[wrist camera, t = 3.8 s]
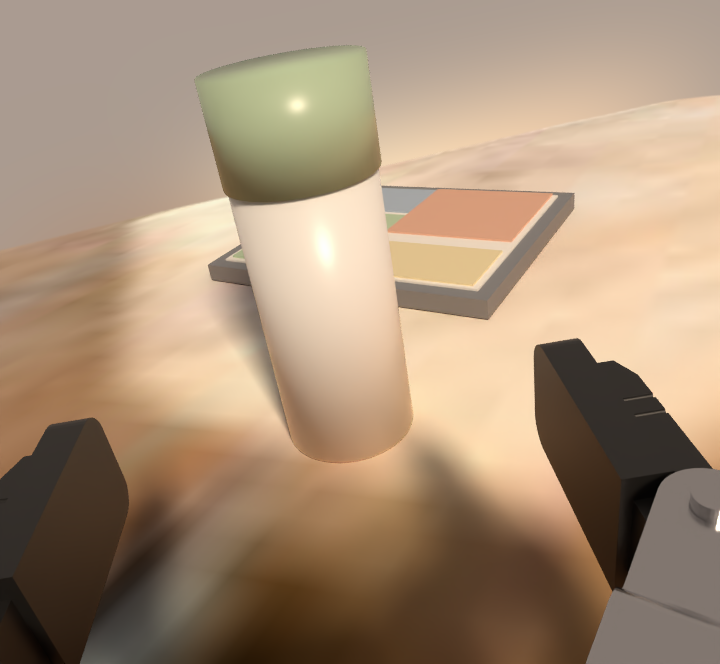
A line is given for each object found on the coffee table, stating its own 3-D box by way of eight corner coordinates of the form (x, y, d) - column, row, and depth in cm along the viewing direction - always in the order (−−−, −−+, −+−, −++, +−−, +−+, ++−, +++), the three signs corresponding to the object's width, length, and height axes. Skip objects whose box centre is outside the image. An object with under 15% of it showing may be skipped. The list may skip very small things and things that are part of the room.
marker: (261, 445, 23) (157, 87, 17) (332, 374, 26) (266, 52, 20) (375, 479, 21) (300, 78, 15) (437, 396, 24) (397, 40, 18)
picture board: (212, 279, 36) (206, 261, 36) (338, 196, 45) (335, 181, 45) (488, 319, 28) (487, 296, 28) (574, 208, 37) (574, 189, 37)
